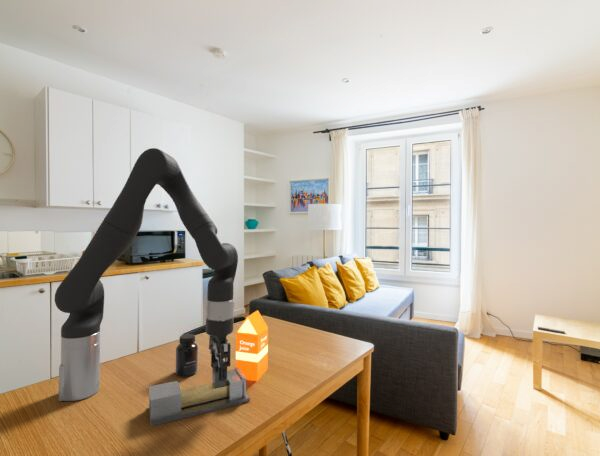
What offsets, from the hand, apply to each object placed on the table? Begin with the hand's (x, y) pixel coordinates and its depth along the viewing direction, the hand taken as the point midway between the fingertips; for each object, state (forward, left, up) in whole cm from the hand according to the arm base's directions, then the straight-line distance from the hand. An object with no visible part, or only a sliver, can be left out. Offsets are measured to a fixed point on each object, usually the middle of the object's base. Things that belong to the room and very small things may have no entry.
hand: (218, 373), depth 89 cm
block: (-3, 0, -6) cm, 7 cm away
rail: (-5, 0, -8) cm, 9 cm away
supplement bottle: (-5, +21, -8) cm, 23 cm away
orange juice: (+14, +11, -8) cm, 19 cm away
